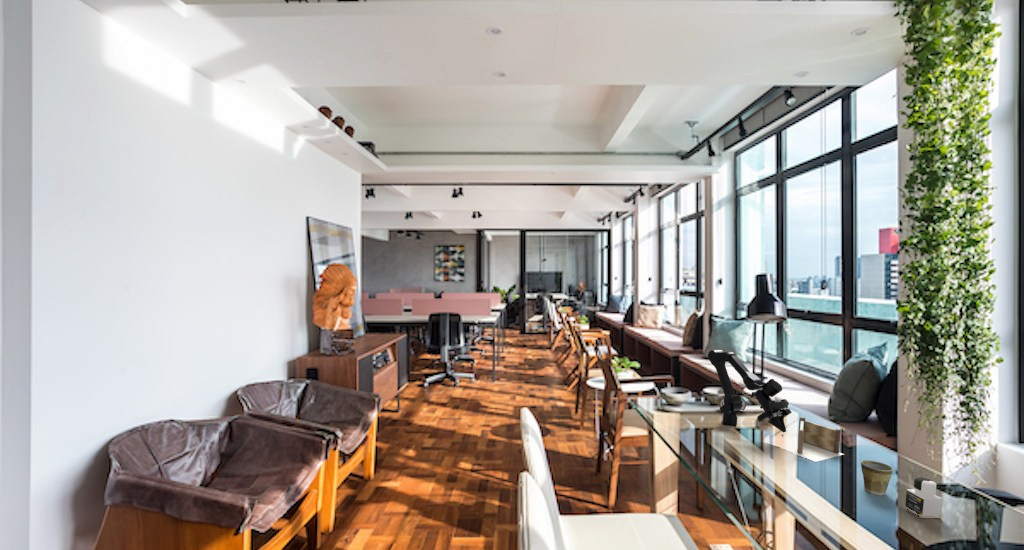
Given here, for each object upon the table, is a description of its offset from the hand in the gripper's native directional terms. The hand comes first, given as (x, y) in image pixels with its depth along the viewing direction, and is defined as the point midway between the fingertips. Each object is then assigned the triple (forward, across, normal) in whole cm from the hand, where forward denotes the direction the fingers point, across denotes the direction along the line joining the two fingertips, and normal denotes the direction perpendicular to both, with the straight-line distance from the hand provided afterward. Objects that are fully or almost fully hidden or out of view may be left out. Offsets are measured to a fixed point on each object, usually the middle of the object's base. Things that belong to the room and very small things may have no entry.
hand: (784, 431), depth 246 cm
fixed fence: (+10, +12, -2) cm, 16 cm away
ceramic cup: (+36, -14, -28) cm, 48 cm away
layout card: (+8, +3, 0) cm, 9 cm away
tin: (-28, +23, +38) cm, 53 cm away
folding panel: (+8, +2, -1) cm, 9 cm away
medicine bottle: (+48, -18, -41) cm, 66 cm away
